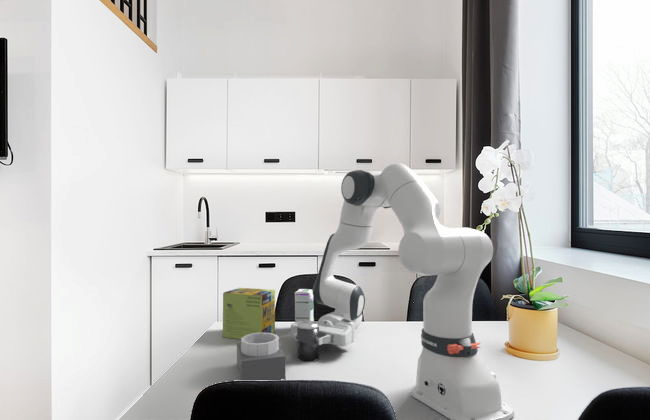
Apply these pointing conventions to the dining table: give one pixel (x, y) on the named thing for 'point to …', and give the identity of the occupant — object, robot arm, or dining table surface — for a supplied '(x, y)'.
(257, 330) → the protein box
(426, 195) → the robot arm
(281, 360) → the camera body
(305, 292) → the syrup box
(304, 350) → the dark grey metallic cylinder
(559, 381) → the dining table surface
